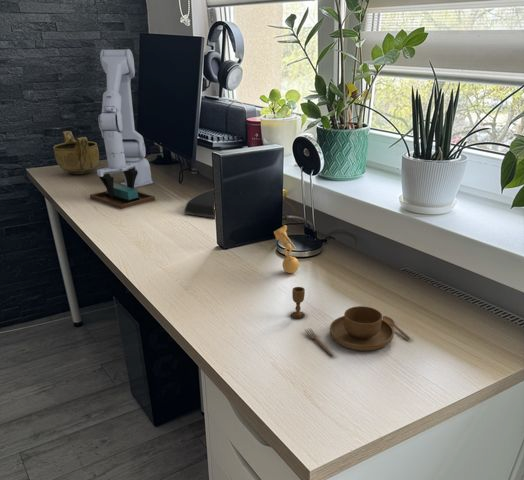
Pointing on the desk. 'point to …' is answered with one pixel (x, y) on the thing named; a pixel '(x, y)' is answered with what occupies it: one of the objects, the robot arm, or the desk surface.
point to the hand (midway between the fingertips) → (121, 194)
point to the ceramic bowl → (76, 154)
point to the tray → (118, 204)
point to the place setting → (354, 326)
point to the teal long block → (124, 193)
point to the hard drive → (201, 205)
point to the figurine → (289, 262)
